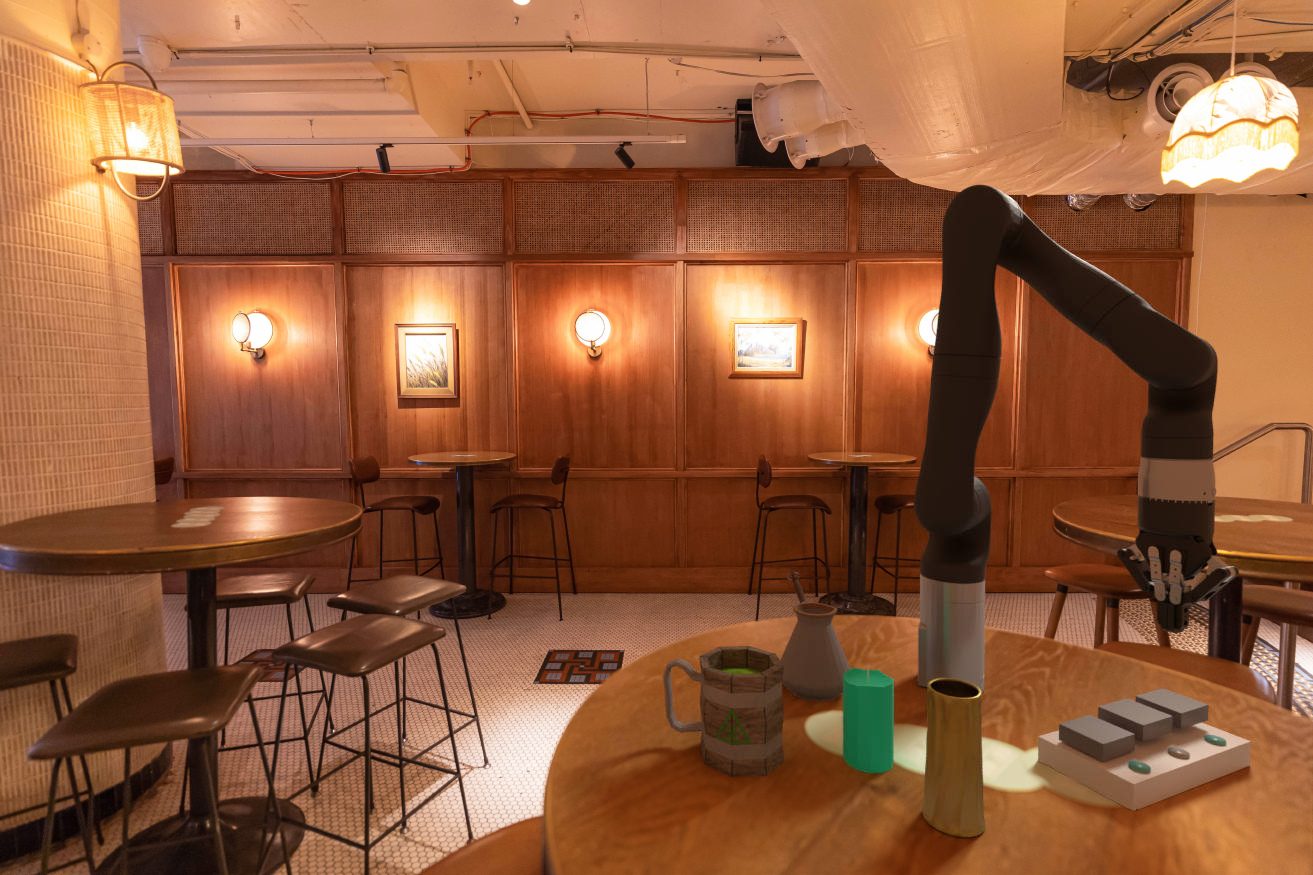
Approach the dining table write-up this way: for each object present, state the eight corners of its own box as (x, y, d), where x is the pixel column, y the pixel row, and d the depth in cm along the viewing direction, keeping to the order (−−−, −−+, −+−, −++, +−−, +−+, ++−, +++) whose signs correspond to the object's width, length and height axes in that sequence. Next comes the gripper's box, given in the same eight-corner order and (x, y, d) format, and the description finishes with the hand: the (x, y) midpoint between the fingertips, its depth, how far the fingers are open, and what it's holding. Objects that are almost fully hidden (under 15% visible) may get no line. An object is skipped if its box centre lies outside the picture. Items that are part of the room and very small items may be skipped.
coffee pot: (863, 706, 94) (863, 605, 93) (785, 708, 94) (784, 606, 93) (824, 651, 115) (824, 568, 114) (760, 652, 115) (760, 569, 114)
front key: (1102, 761, 73) (1103, 744, 73) (1058, 739, 78) (1059, 723, 78) (1134, 750, 75) (1134, 733, 75) (1089, 730, 80) (1089, 714, 80)
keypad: (1133, 811, 69) (1133, 781, 69) (1038, 759, 79) (1038, 733, 79) (1249, 765, 78) (1250, 738, 77) (1150, 724, 88) (1150, 700, 88)
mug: (789, 739, 85) (789, 650, 84) (777, 785, 75) (777, 684, 74) (676, 721, 90) (675, 637, 89) (650, 762, 80) (649, 667, 79)
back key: (1180, 729, 78) (1181, 713, 78) (1135, 710, 83) (1135, 695, 83) (1208, 720, 81) (1208, 704, 80) (1162, 702, 85) (1162, 688, 85)
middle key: (1142, 741, 76) (1143, 725, 76) (1097, 722, 80) (1098, 706, 80) (1172, 732, 78) (1172, 715, 78) (1126, 713, 83) (1127, 698, 82)
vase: (911, 803, 71) (912, 676, 70) (964, 800, 71) (965, 674, 71) (940, 840, 65) (941, 702, 64) (998, 836, 65) (1000, 699, 65)
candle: (897, 775, 76) (898, 676, 76) (845, 770, 78) (845, 672, 77) (889, 749, 82) (890, 657, 82) (841, 744, 83) (841, 654, 83)
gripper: (1101, 490, 85) (1099, 619, 86) (1219, 503, 73) (1216, 653, 73) (1138, 486, 88) (1136, 611, 89) (1258, 498, 75) (1254, 643, 76)
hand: (1172, 630), depth 81 cm, fingers closed
